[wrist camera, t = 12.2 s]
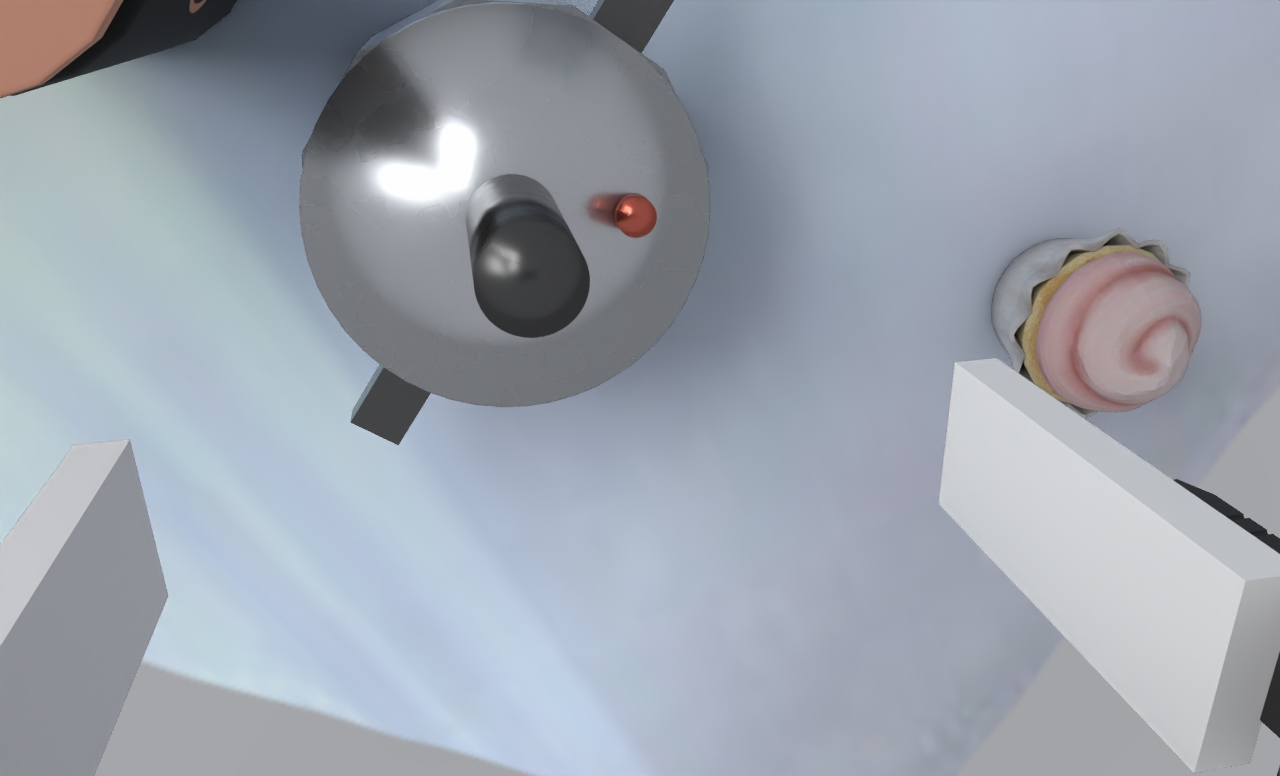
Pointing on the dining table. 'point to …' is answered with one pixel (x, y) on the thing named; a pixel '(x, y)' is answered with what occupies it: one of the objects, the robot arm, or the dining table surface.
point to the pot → (623, 10)
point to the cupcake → (1097, 321)
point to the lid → (504, 204)
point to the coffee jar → (92, 35)
